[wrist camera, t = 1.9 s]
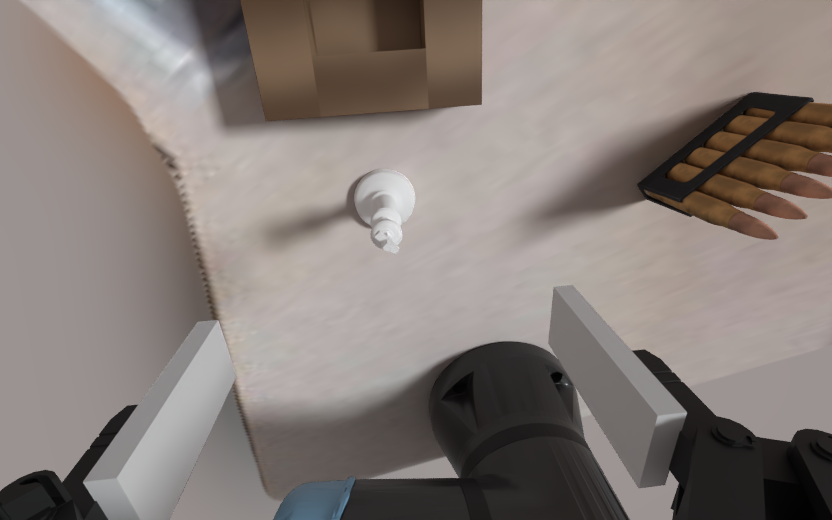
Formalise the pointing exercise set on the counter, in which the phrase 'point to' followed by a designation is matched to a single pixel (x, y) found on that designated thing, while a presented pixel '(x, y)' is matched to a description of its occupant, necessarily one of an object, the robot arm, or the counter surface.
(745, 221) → the ammunition clip
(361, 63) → the socket block
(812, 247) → the counter surface
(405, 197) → the chess piece
